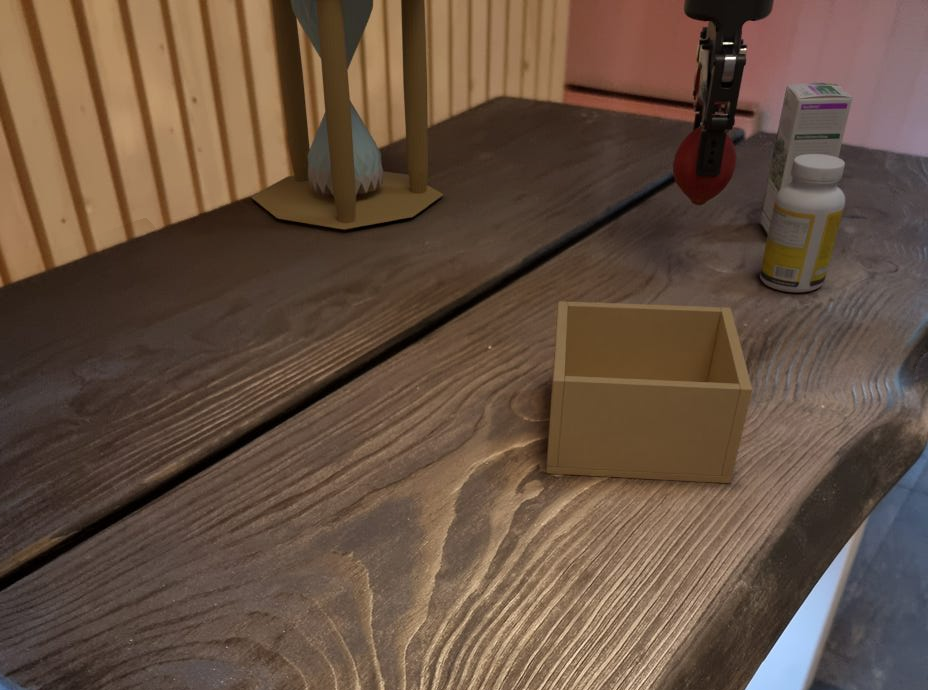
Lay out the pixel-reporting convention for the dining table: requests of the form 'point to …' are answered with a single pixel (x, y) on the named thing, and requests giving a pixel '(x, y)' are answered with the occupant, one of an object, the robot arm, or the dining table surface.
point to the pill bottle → (804, 225)
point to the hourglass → (347, 122)
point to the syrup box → (805, 133)
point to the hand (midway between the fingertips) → (704, 165)
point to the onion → (685, 170)
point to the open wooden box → (647, 392)
